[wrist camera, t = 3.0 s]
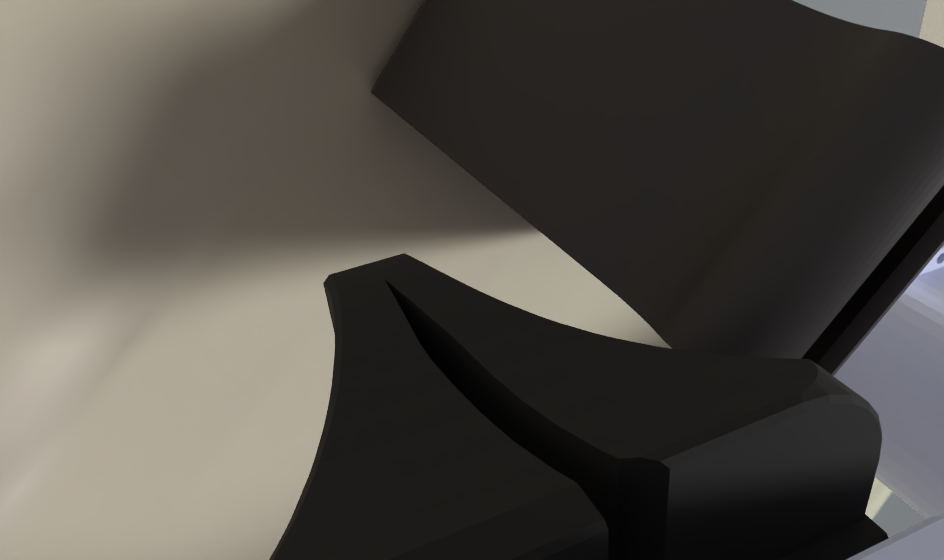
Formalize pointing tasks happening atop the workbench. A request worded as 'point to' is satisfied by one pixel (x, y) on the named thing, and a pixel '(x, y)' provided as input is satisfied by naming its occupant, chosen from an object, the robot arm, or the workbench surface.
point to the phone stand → (698, 155)
